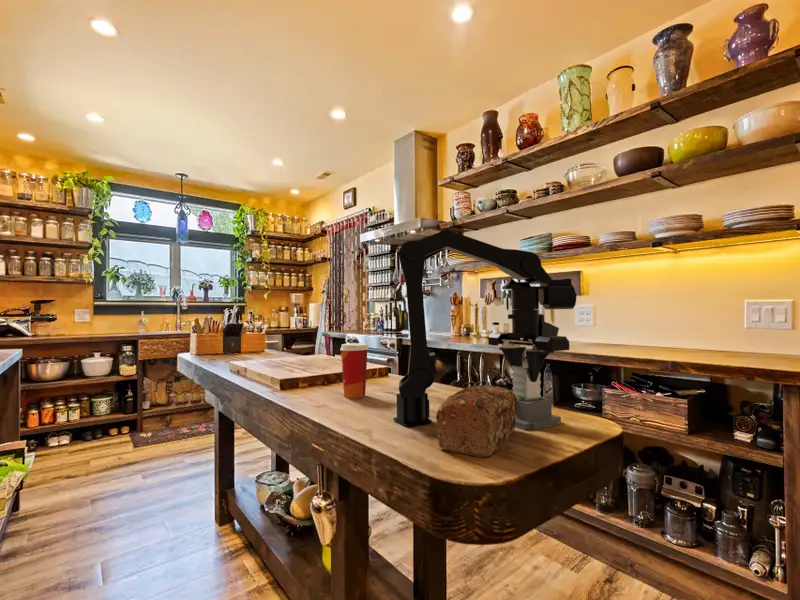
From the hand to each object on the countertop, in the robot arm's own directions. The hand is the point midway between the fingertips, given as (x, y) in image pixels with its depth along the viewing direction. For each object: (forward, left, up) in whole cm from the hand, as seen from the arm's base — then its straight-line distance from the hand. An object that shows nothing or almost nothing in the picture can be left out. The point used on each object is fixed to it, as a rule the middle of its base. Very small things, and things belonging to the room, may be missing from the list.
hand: (526, 380), depth 89 cm
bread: (-17, -4, -9) cm, 20 cm away
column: (0, 0, -6) cm, 6 cm away
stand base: (0, 0, -9) cm, 9 cm away
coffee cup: (-23, +43, -9) cm, 50 cm away
